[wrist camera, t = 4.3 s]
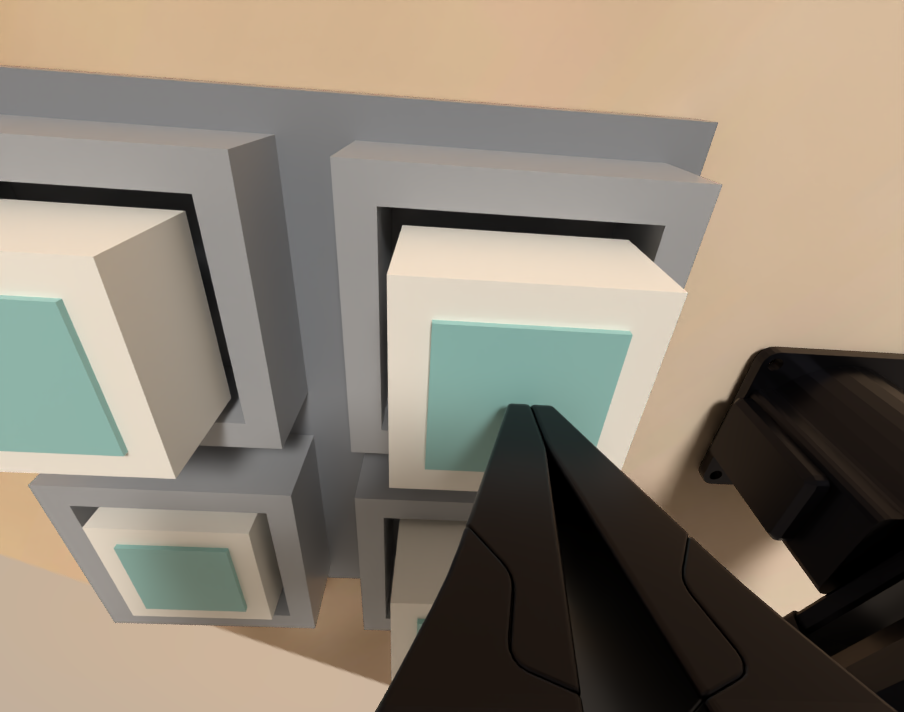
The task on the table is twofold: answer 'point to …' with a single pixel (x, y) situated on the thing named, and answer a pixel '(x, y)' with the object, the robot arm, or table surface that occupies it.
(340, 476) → the console
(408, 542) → the button
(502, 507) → the robot arm
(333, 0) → the table surface
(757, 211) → the table surface
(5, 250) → the button
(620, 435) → the button
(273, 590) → the button
